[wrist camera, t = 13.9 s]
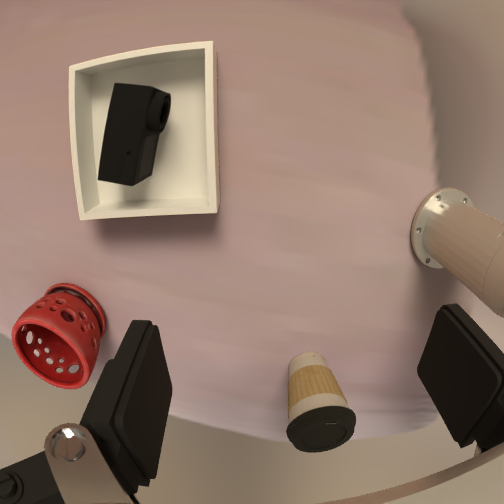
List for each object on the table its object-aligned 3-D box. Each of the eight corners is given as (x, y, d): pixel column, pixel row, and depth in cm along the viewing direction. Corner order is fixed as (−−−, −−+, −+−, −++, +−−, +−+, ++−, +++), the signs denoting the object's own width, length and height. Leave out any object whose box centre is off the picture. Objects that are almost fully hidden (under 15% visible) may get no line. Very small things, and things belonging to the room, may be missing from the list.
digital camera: (160, 178, 36) (143, 190, 29) (120, 171, 35) (96, 181, 29) (178, 94, 32) (164, 87, 25) (136, 88, 31) (114, 82, 25)
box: (216, 52, 31) (212, 40, 26) (220, 201, 38) (217, 213, 33) (89, 71, 30) (69, 66, 25) (98, 207, 38) (80, 220, 33)
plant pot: (49, 329, 45) (18, 372, 34) (45, 265, 41) (3, 304, 30) (113, 352, 47) (90, 403, 36) (117, 290, 43) (85, 339, 31)
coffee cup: (273, 384, 51) (281, 455, 37) (283, 342, 47) (296, 417, 33) (326, 385, 51) (345, 452, 37) (342, 344, 48) (369, 413, 34)
